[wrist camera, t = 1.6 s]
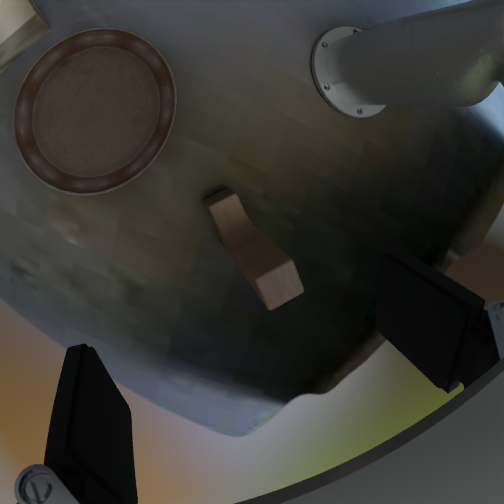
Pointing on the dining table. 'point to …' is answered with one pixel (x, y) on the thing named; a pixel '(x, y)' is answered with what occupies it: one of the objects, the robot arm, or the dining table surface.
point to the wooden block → (254, 251)
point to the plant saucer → (94, 111)
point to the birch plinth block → (19, 29)
